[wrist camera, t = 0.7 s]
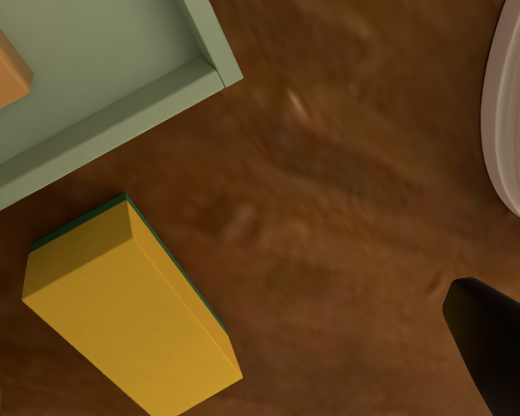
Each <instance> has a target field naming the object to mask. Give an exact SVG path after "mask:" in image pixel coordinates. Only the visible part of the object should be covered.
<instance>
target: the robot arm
mask: <svg viewBox="0 0 520 416" xmlns="http://www.w3.org/2000/svg"><path fill="white" fill-rule="evenodd" d="M443 315H444V318H445V320H446V322H447V325H448V327H449V329H450V331H451V333H452V336H453V338H454V340H455V342H456V344H457V347H458V349H459V351H460V353H461V355H462V358H463V360H464V362H465V364H466V366H467V369H468V371H469V373H470V375H471V377H472V379H473V381H474V383H475V385H476V387H477V388H478V390H479V392H480V394H481V396H482V397H483V399H484V401H485V403H486V404H487V406H488V408H489V409H490V411H491V413H492V415H493V416H520V303H519V302H517V301H515V300H513V299H512V298H510V297H508V296H506V295H505V294H503V293H501V292H499V291H497V290H496V289H494V288H492V287H490V286H489V285H487V284H485V283H483V282H481V281H480V280H478V279H476V278H473V277H467V278H461V279H456V280H454V281H453V282H452V283H451V286H450V288H449V291H448V293H447V296H446V298H445V301H444V303H443ZM1 402H2V393H1V387H0V415H1Z"/></svg>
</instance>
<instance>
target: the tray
mask: <svg viewBox="0 0 520 416" xmlns="http://www.w3.org/2000/svg"><path fill="white" fill-rule="evenodd" d="M0 29H1V30H2V31H3V33H4V34H5V35H6V37H7V38H8V39H9V41H10V42H11V43H12V45H13V46H14V47H15V49H16V50H17V51H18V53H19V54H20V56H21V57H22V58H23V60H24V61H25V62H26V64H27V65H28V66H29V68H30V69H31V70H32V72H33V73H34V76H33V79H32V82H31V85H30V89H29V92H28V94H26V95H24V96H23V97H21V98H19V99H17V100H15V101H13V102H11V103H10V104H8V105H6V106H4V107H2V108H0V211H1V210H2V209H4V208H6V207H8V206H10V205H12V204H13V203H15V202H17V201H19V200H21V199H23V198H24V197H26V196H28V195H30V194H32V193H34V192H35V191H37V190H39V189H41V188H43V187H44V186H46V185H48V184H50V183H52V182H54V181H55V180H57V179H59V178H61V177H63V176H65V175H66V174H68V173H70V172H72V171H74V170H76V169H77V168H79V167H81V166H83V165H85V164H87V163H88V162H90V161H92V160H94V159H96V158H97V157H99V156H101V155H103V154H105V153H107V152H108V151H110V150H112V149H114V148H116V147H118V146H119V145H121V144H123V143H125V142H127V141H129V140H130V139H132V138H134V137H136V136H138V135H140V134H141V133H143V132H145V131H147V130H149V129H150V128H152V127H154V126H156V125H158V124H160V123H161V122H163V121H165V120H167V119H169V118H171V117H172V116H174V115H176V114H178V113H180V112H182V111H183V110H185V109H187V108H189V107H191V106H193V105H194V104H196V103H198V102H200V101H202V100H203V99H205V98H207V97H209V96H211V95H213V94H214V93H216V92H218V91H220V90H222V89H223V88H224V87H228V86H230V85H232V84H234V83H235V82H237V81H239V80H241V79H243V75H242V73H241V71H240V69H239V66H238V64H237V62H236V60H235V57H234V55H233V53H232V51H231V49H230V46H229V44H228V42H227V40H226V37H225V35H224V33H223V31H222V29H221V26H220V24H219V22H218V20H217V17H216V15H215V13H214V11H213V8H212V6H211V4H210V2H209V0H0Z"/></svg>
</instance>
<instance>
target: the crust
mask: <svg viewBox="0 0 520 416" xmlns="http://www.w3.org/2000/svg"><path fill="white" fill-rule="evenodd" d="M33 76H34V73H33V72H32V70H31V69H30V68H29V66H28V65H27V64H26V62H25V61H24V60H23V58H22V57H21V56H20V54H19V53H18V51H17V50H16V49H15V47H14V46H13V45H12V43H11V42H10V41H9V39H8V38H7V37H6V35H5V34H4V33H3V31H2V30H1V29H0V108H2V107H4V106H6V105H8V104H10V103H11V102H13V101H15V100H17V99H19V98H21V97H23V96H24V95H26V94H28V92H29V89H30V85H31V82H32V79H33Z"/></svg>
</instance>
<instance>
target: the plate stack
mask: <svg viewBox="0 0 520 416" xmlns="http://www.w3.org/2000/svg"><path fill="white" fill-rule="evenodd" d="M481 140H482V149H483V155H484V160H485V164H486V168H487V171H488V174H489V177H490V180H491V182H492V184H493V186H494V188H495V190H496V192H497V194H498V195H499V197H500V198H501V200H502V201H503V202H504V204H505V205H506V206H507V207H508V208H509V209H510V210H511V211H512V212H513V213H514V214H516V215H517V216H518V217H520V0H506V1H505V4H504V7H503V9H502V12H501V15H500V18H499V21H498V24H497V28H496V31H495V34H494V38H493V41H492V45H491V49H490V53H489V58H488V62H487V67H486V72H485V78H484V84H483V92H482V102H481Z"/></svg>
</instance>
